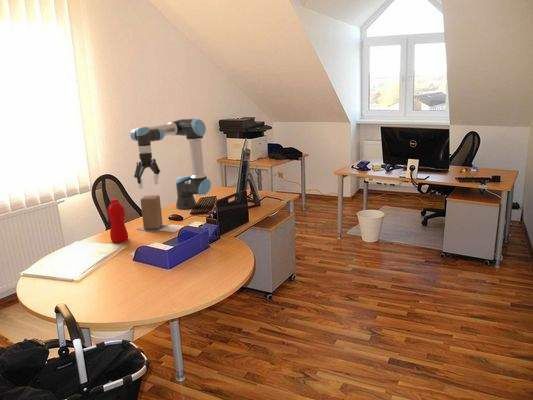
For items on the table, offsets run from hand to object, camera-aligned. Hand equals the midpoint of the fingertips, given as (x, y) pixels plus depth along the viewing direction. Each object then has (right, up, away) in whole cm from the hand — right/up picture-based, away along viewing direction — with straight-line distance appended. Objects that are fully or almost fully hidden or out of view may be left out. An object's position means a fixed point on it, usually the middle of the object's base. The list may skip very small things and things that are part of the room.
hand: (148, 186), depth 278 cm
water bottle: (-12, -32, -15) cm, 38 cm away
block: (+1, -26, +6) cm, 27 cm away
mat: (+14, -26, +2) cm, 30 cm away
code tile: (+1, -26, +6) cm, 27 cm away
